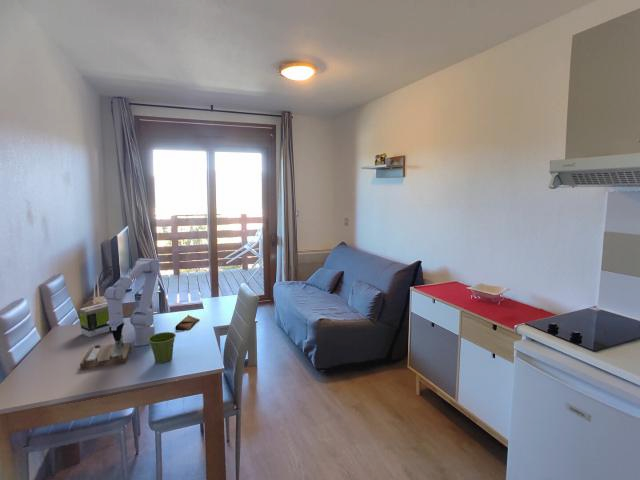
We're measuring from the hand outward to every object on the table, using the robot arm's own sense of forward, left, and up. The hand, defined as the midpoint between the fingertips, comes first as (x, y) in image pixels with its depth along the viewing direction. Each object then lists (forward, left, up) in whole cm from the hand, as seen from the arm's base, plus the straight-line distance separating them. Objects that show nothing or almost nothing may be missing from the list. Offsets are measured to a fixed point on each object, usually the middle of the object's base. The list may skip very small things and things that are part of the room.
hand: (118, 339), depth 171 cm
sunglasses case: (-31, -32, -9) cm, 46 cm away
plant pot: (-20, +11, -9) cm, 25 cm away
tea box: (+16, -40, -9) cm, 43 cm away
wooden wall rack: (+5, -1, -8) cm, 10 cm away
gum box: (-8, -37, -9) cm, 38 cm away
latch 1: (+10, +1, -5) cm, 11 cm away
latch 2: (0, +2, -3) cm, 3 cm away
